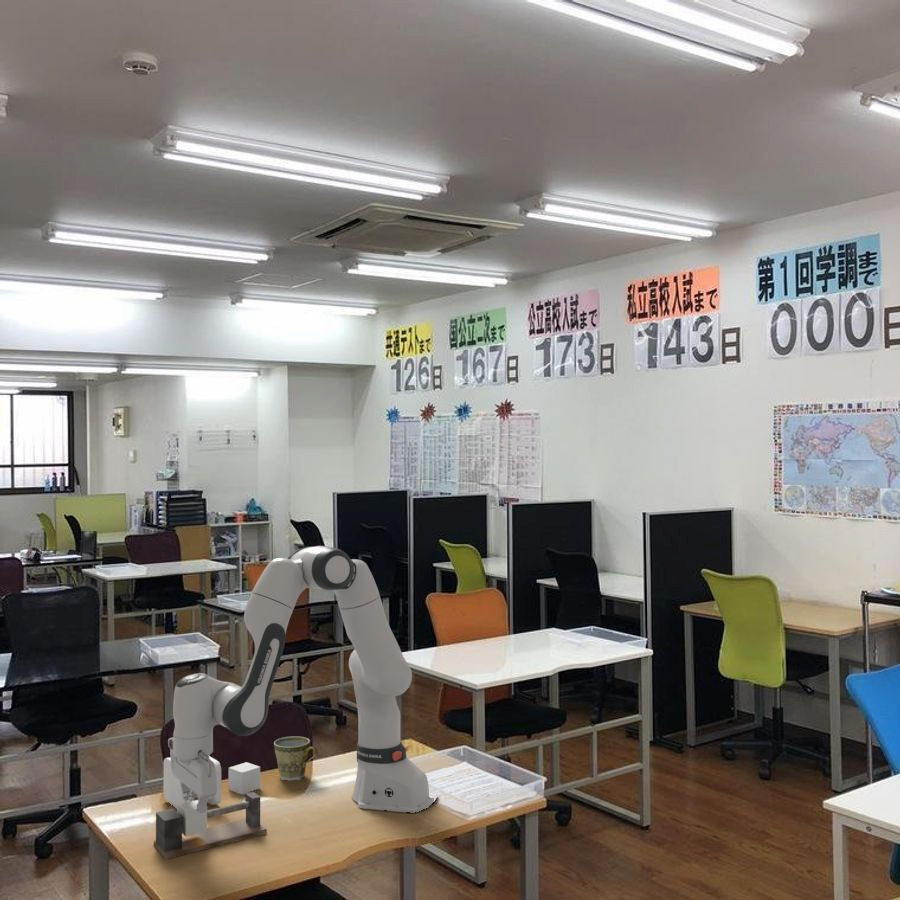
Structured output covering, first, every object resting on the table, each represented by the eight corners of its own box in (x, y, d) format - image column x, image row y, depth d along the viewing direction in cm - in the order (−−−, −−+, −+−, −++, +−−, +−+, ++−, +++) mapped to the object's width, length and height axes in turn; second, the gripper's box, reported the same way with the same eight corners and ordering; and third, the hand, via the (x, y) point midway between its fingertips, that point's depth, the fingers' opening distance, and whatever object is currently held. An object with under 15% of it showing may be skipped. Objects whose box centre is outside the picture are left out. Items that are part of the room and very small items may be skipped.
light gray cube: (242, 795, 244) (242, 772, 244) (228, 790, 247) (228, 767, 247) (260, 788, 248) (260, 766, 248) (246, 783, 252) (246, 762, 252)
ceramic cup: (266, 780, 254) (266, 744, 254) (286, 769, 263) (286, 734, 264) (306, 787, 249) (306, 750, 249) (325, 775, 258) (325, 739, 258)
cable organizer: (161, 800, 240) (161, 755, 240) (199, 790, 247) (199, 747, 247) (184, 817, 228) (184, 770, 228) (223, 807, 235) (223, 761, 235)
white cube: (198, 823, 216) (198, 799, 216) (207, 831, 212) (207, 807, 212) (177, 828, 213) (177, 804, 213) (185, 836, 209) (185, 812, 209)
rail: (251, 821, 226) (251, 788, 226) (266, 833, 218) (266, 799, 219) (153, 845, 212) (153, 810, 212) (166, 858, 204) (166, 822, 205)
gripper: (223, 754, 206) (224, 816, 206) (191, 732, 223) (192, 789, 223) (196, 760, 202) (197, 823, 202) (165, 737, 219) (166, 795, 219)
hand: (194, 805), depth 213 cm, fingers open, 8 cm apart
